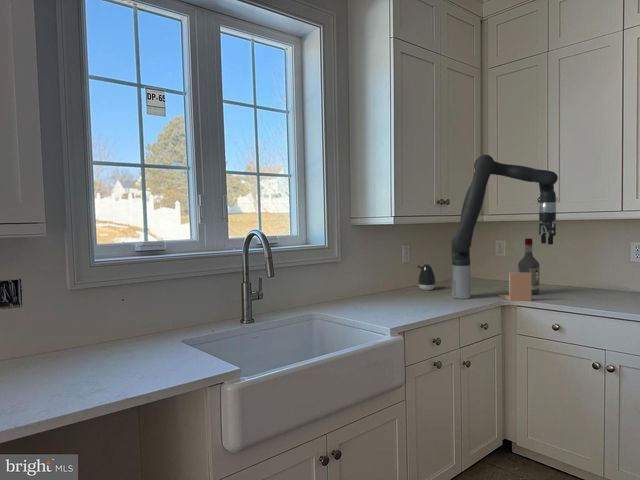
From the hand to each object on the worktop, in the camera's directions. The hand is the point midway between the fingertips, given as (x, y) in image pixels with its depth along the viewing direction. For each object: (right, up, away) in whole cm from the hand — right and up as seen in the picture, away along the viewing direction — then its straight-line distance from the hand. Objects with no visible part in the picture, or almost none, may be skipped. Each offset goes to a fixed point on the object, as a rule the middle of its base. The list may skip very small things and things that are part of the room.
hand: (546, 243), depth 219 cm
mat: (-13, -28, +8) cm, 32 cm away
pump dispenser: (-51, -28, +38) cm, 70 cm away
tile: (-14, -28, -1) cm, 32 cm away
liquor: (0, -27, +19) cm, 33 cm away
